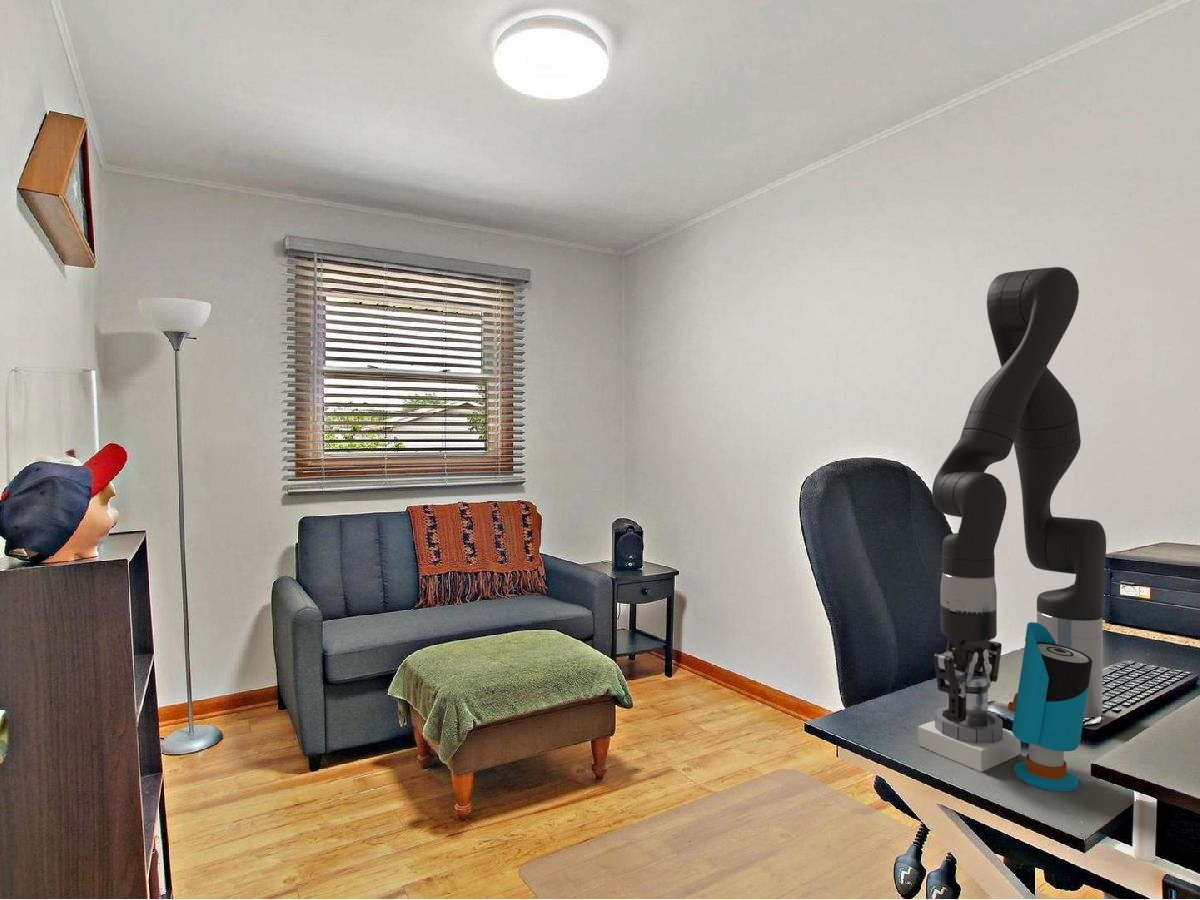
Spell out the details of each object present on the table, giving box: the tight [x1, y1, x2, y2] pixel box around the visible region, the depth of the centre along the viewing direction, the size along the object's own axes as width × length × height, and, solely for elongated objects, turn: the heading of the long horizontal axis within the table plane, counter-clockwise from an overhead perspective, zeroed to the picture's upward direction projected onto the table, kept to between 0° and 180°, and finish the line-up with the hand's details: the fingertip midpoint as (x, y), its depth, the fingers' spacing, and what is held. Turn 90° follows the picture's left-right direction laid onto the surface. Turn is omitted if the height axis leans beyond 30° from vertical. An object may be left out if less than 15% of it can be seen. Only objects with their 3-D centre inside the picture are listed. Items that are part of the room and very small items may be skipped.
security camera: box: [1007, 621, 1092, 792], centre depth 99 cm, size 8×21×10 cm
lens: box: [950, 669, 989, 727], centre depth 108 cm, size 5×5×7 cm
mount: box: [917, 705, 1021, 773], centre depth 108 cm, size 10×10×5 cm
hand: (968, 714), depth 108 cm, fingers closed on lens, 5 cm apart
